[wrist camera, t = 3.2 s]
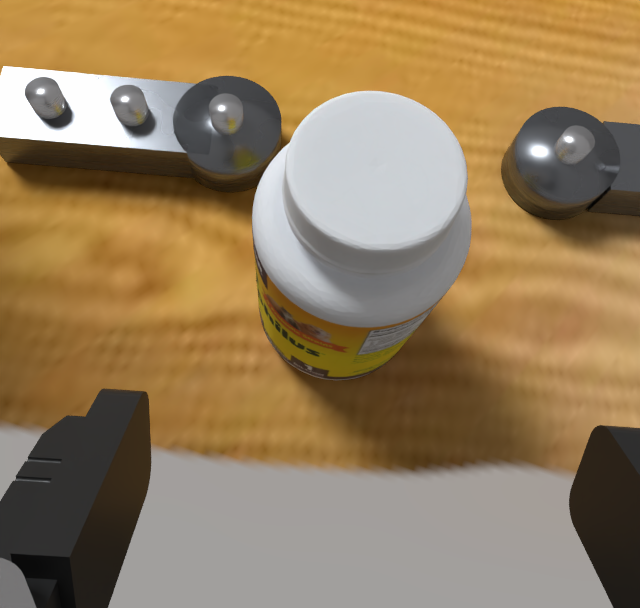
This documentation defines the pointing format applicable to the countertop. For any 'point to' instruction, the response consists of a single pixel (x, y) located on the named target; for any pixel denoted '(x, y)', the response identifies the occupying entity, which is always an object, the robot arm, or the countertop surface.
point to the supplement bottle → (358, 232)
